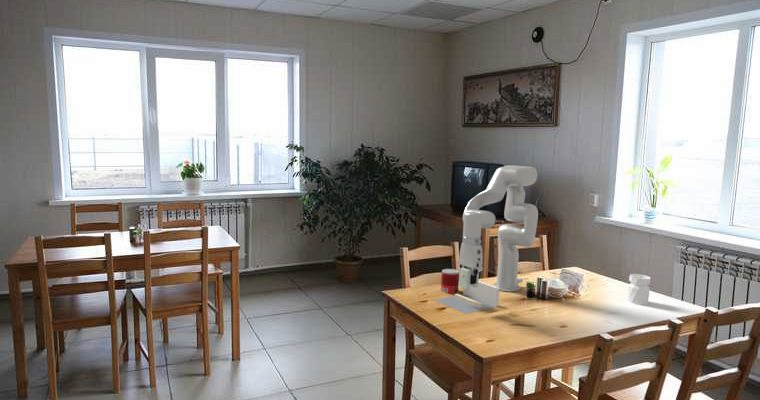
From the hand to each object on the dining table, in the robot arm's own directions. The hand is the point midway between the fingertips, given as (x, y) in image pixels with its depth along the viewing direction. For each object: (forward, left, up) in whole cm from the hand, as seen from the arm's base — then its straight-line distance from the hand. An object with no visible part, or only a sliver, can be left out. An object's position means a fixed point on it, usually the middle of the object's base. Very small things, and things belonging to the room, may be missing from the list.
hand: (468, 281), depth 226 cm
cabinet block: (0, 0, -2) cm, 2 cm away
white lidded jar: (-74, +35, -11) cm, 82 cm away
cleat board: (+1, 0, -11) cm, 11 cm away
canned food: (-5, -17, -11) cm, 21 cm away
